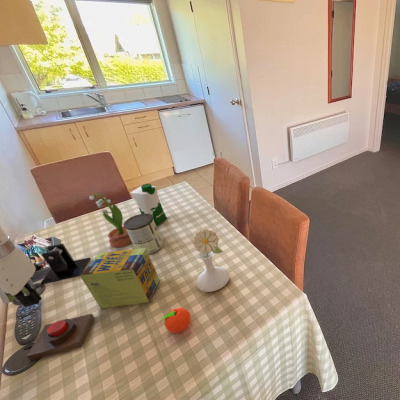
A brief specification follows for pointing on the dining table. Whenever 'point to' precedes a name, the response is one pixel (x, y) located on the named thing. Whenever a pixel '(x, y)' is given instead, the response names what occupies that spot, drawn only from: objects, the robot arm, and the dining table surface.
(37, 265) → the toast lever
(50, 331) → the button
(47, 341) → the button block
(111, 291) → the protein box
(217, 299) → the dining table surface
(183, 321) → the clementine
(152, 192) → the milk carton
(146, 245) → the coffee can
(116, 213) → the potted flower
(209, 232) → the flower in vase
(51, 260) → the bracket
